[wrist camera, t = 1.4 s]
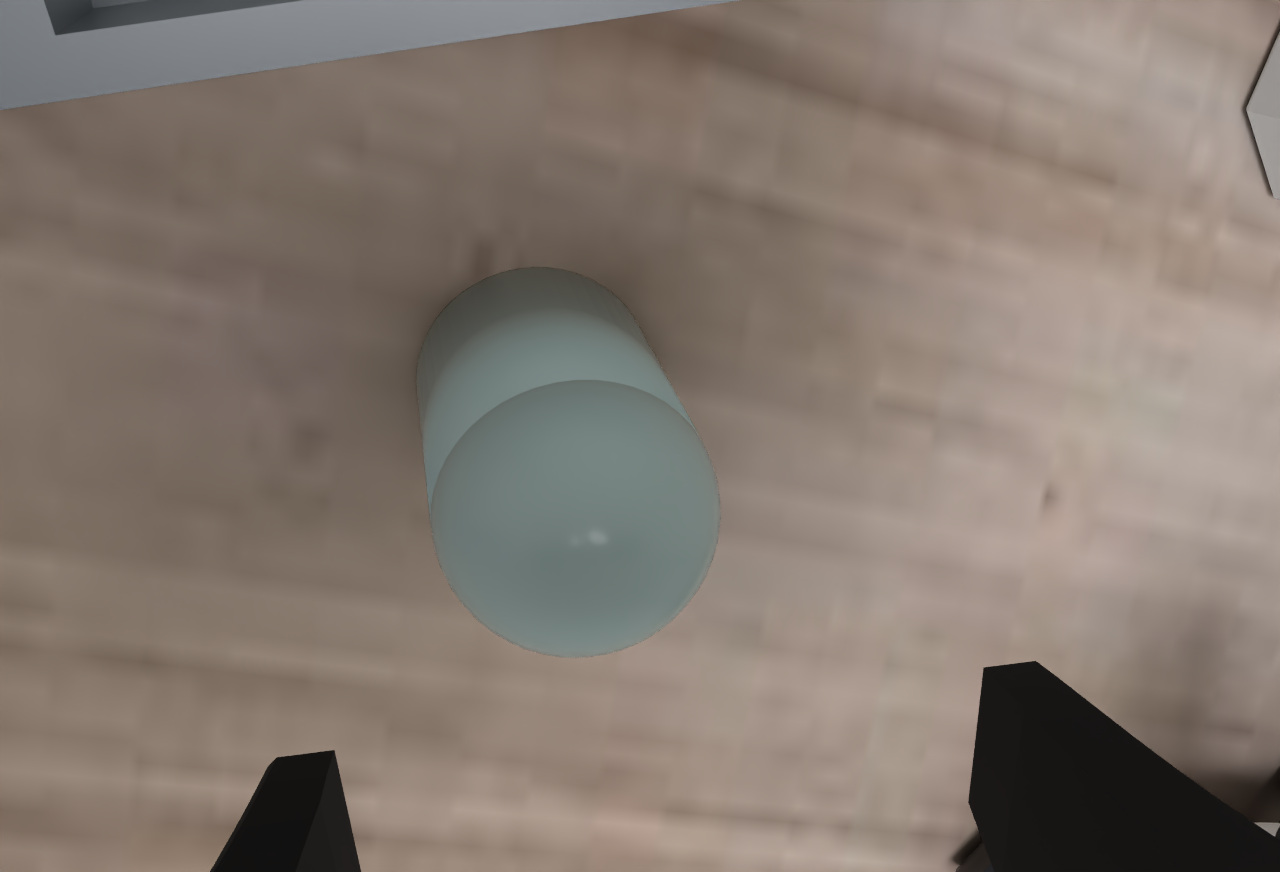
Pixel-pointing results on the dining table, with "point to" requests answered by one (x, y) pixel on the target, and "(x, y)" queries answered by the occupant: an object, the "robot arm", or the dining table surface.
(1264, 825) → the coffee press
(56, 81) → the tray
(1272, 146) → the salt shaker
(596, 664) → the dining table surface
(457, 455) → the sage green capsule
